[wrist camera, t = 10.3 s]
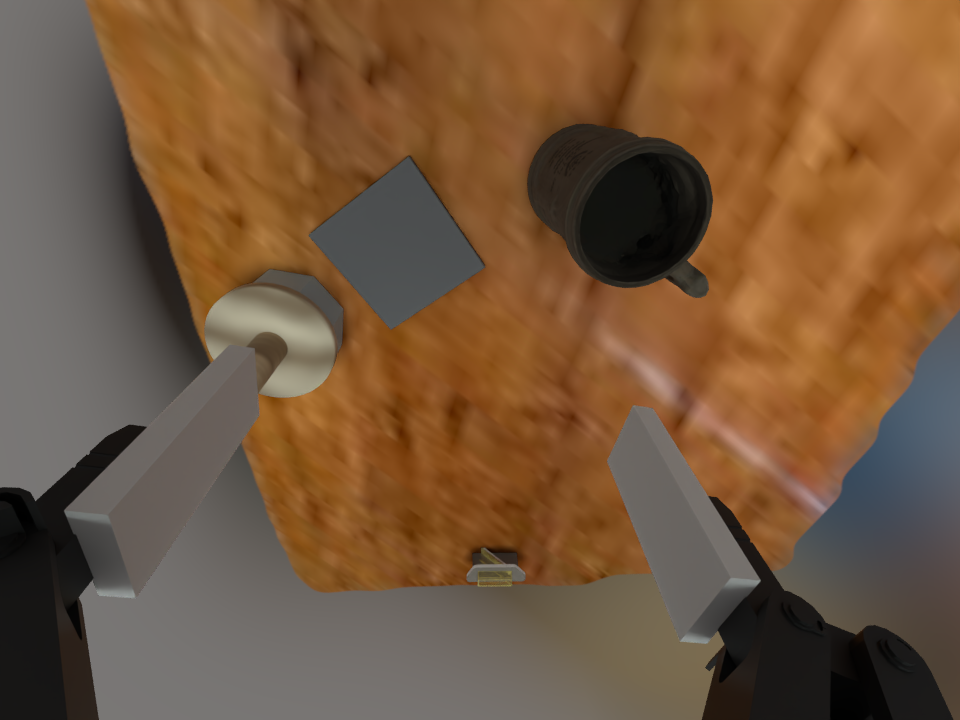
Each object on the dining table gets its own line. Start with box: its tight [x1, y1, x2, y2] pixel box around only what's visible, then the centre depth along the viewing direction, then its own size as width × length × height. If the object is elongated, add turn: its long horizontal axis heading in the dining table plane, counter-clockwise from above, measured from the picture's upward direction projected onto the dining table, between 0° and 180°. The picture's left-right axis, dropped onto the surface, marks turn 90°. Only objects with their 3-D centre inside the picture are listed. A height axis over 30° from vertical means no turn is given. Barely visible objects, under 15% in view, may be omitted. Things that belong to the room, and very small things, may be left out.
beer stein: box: [528, 124, 713, 298], centre depth 38 cm, size 15×11×20 cm
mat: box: [308, 156, 485, 329], centre depth 49 cm, size 14×14×1 cm
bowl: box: [253, 269, 343, 353], centre depth 51 cm, size 12×12×6 cm
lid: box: [205, 282, 338, 397], centre depth 44 cm, size 14×14×11 cm
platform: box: [467, 547, 525, 586], centre depth 74 cm, size 12×18×7 cm, turn 88°
